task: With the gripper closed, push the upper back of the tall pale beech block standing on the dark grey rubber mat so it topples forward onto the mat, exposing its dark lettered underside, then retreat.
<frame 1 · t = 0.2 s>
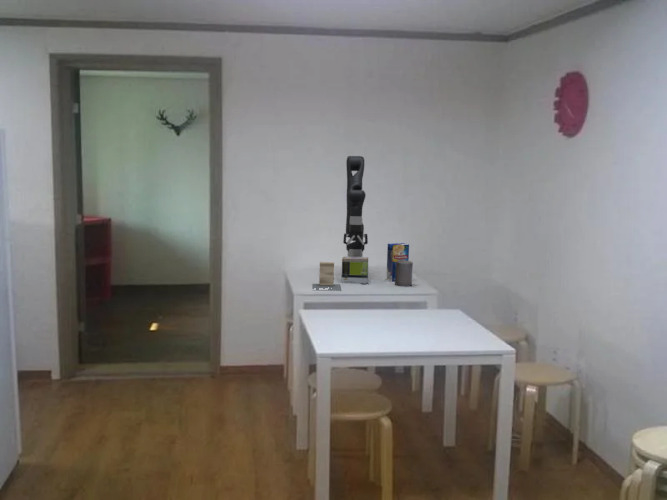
hand: (355, 251, 428), 18 cm above the table, tool pointing down, fingers open, 8 cm apart
mat: (326, 287, 405), on the table
tea box: (354, 282, 425), on the table
blue food box: (397, 280, 434), on the table
block: (326, 285, 411), resting on mat
pillar candle: (403, 285, 420), on the table
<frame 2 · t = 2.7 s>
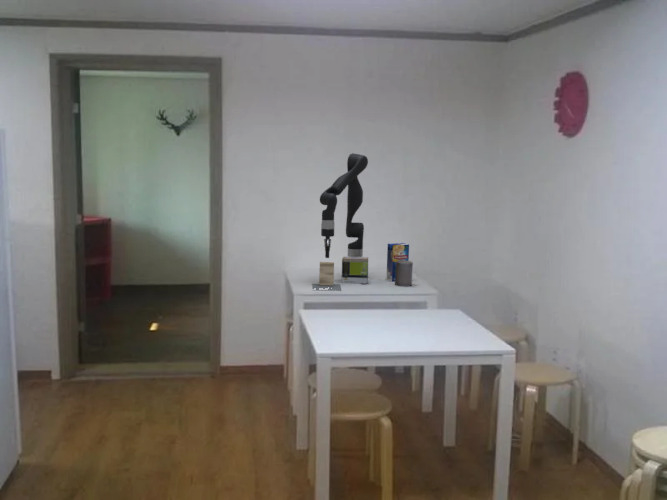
hand: (327, 257, 418), 15 cm above the table, tool pointing down, fingers closed
nothing on the table moved.
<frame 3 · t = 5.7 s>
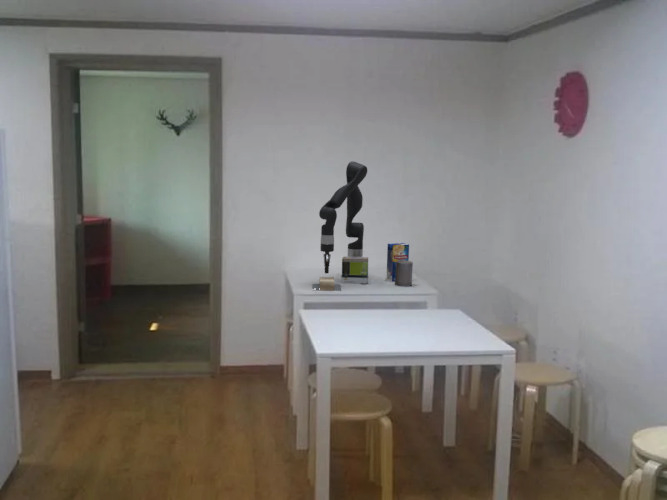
hand: (326, 273, 409), 7 cm above the table, tool pointing down, fingers closed
block: (326, 281, 408), point 3 cm above the table, tilted 90°, touching mat
everything else where it was.
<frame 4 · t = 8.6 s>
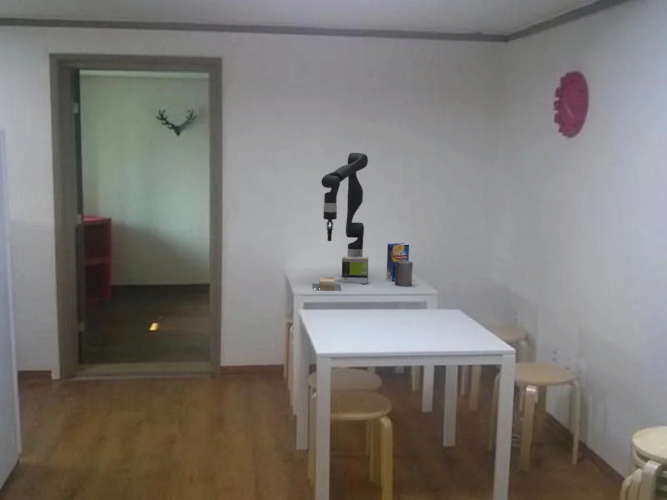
hand: (329, 240, 414), 25 cm above the table, tool pointing down, fingers closed
nothing on the table moved.
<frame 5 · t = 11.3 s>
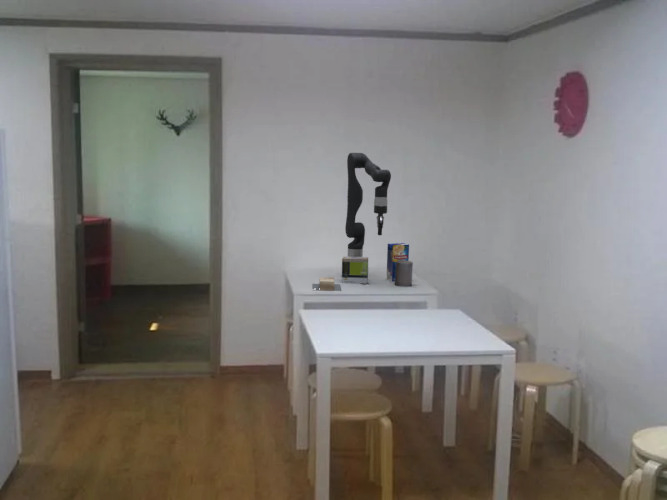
hand: (379, 235, 413), 29 cm above the table, tool pointing down, fingers closed
nothing on the table moved.
at the end: block tilted 90°; block inside the target area (3.0 cm from its centre), point 2.8 cm above the table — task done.
